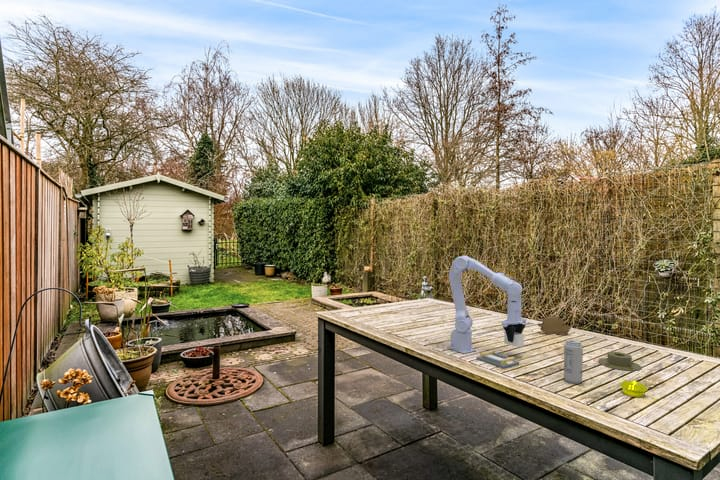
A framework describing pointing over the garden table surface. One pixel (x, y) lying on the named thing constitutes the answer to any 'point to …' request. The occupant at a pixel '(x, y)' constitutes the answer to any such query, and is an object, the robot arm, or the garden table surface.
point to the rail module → (515, 339)
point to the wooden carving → (554, 325)
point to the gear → (633, 388)
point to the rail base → (497, 359)
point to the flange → (619, 362)
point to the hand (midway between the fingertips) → (513, 341)
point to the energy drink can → (573, 361)
